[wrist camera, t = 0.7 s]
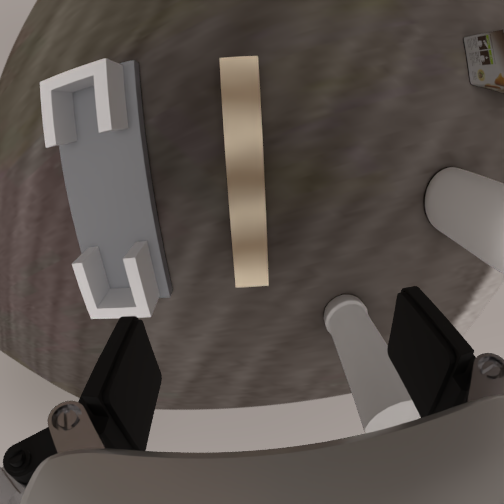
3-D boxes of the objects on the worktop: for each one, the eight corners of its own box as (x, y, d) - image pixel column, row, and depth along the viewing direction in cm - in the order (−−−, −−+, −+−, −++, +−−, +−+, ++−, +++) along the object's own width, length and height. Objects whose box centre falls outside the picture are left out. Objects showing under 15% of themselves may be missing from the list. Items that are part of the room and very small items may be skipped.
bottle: (331, 335, 37) (398, 524, 14) (314, 306, 35) (387, 518, 12) (368, 315, 36) (461, 493, 13) (354, 284, 34) (464, 479, 11)
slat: (222, 67, 25) (219, 57, 21) (255, 66, 25) (258, 55, 21) (236, 266, 33) (235, 287, 29) (264, 264, 33) (268, 285, 29)
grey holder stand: (60, 86, 24) (30, 83, 19) (138, 62, 24) (118, 51, 19) (101, 294, 33) (83, 321, 28) (172, 290, 33) (162, 319, 28)
